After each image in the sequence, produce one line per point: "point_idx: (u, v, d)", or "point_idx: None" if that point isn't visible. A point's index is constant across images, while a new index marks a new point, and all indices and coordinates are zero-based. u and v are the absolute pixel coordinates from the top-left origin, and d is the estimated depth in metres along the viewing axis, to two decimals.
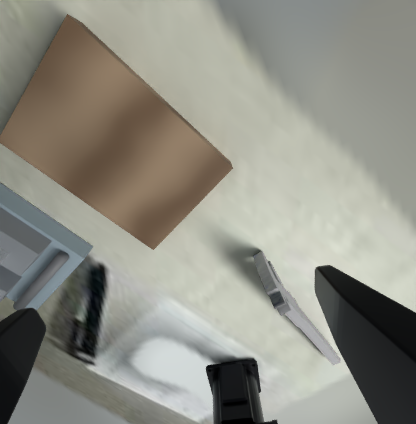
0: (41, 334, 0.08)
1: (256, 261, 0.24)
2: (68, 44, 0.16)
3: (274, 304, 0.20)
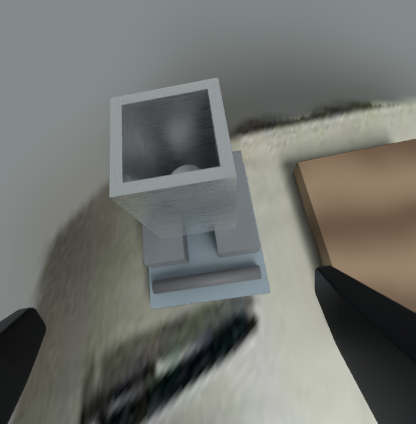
0: (41, 334, 0.08)
1: None
2: (404, 150, 0.21)
3: None
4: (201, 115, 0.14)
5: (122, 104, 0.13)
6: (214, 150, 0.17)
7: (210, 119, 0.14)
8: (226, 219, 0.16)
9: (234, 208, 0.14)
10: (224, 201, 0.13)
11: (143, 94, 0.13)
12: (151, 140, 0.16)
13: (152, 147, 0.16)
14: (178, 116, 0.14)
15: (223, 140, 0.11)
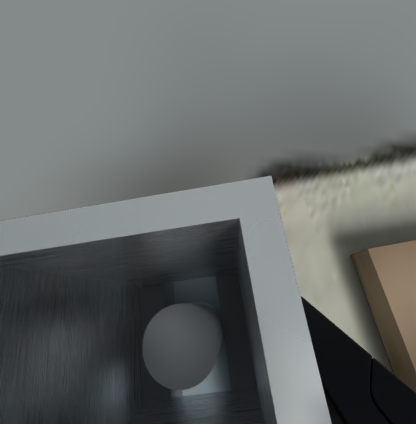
0: None
1: None
2: None
3: None
4: (214, 247, 0.05)
5: None
6: (234, 265, 0.09)
7: (235, 248, 0.06)
8: None
9: None
10: None
11: (36, 224, 0.04)
12: (99, 275, 0.07)
13: (106, 277, 0.08)
14: (152, 254, 0.05)
15: None
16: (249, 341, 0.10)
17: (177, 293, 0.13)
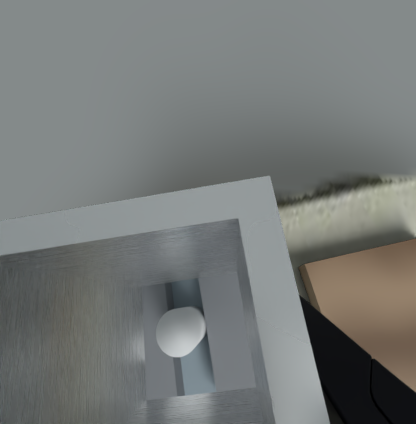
0: None
1: None
2: None
3: None
4: (213, 246, 0.05)
5: None
6: (234, 265, 0.09)
7: (234, 247, 0.06)
8: None
9: None
10: None
11: (35, 224, 0.04)
12: (98, 274, 0.07)
13: (105, 277, 0.08)
14: (152, 253, 0.05)
15: None
16: None
17: (175, 300, 0.19)
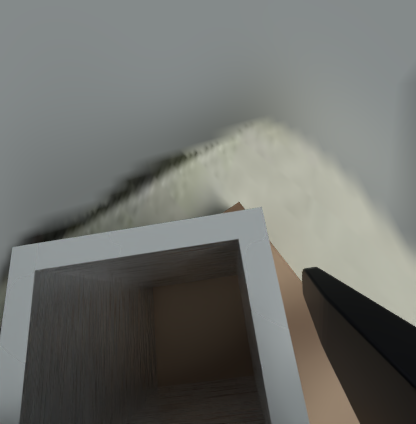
0: None
1: None
2: None
3: None
4: (219, 256, 0.07)
5: (37, 267, 0.05)
6: (234, 269, 0.10)
7: (235, 256, 0.07)
8: None
9: None
10: None
11: (87, 242, 0.05)
12: (122, 278, 0.08)
13: (126, 280, 0.09)
14: (170, 262, 0.07)
15: (292, 421, 0.04)
16: None
17: None
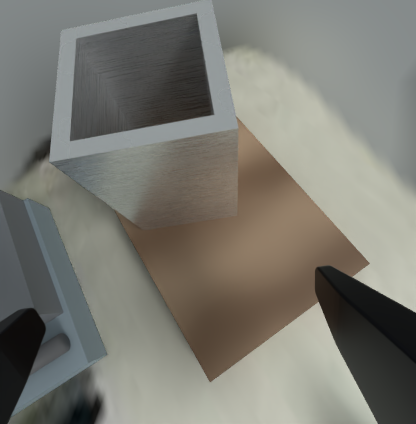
0: (41, 334, 0.08)
1: None
2: None
3: None
4: (190, 61, 0.10)
5: (77, 37, 0.09)
6: None
7: (202, 68, 0.11)
8: (224, 203, 0.12)
9: (235, 186, 0.11)
10: (221, 174, 0.10)
11: (107, 24, 0.09)
12: (126, 101, 0.12)
13: (129, 111, 0.13)
14: (158, 62, 0.10)
15: (219, 78, 0.08)
16: None
17: None
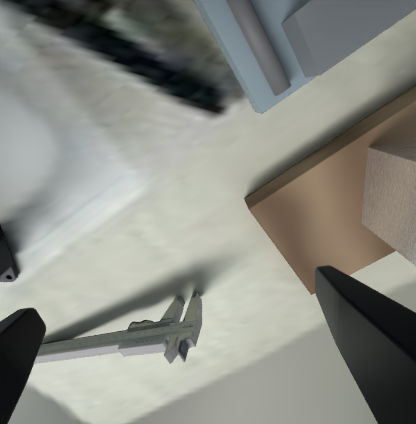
0: (41, 334, 0.08)
1: (198, 303, 0.22)
2: None
3: (181, 351, 0.18)
4: None
5: None
6: None
7: None
8: (382, 230, 0.16)
9: (402, 253, 0.15)
10: None
11: None
12: None
13: None
14: None
15: None
16: None
17: None
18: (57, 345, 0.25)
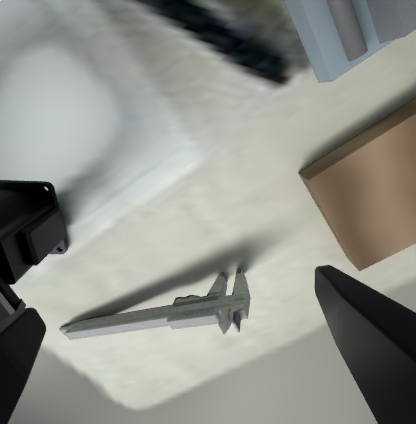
0: (41, 334, 0.08)
1: (244, 278, 0.22)
2: None
3: (235, 321, 0.19)
4: None
5: None
6: None
7: None
8: None
9: None
10: None
11: None
12: None
13: None
14: None
15: None
16: None
17: None
18: (100, 320, 0.25)
